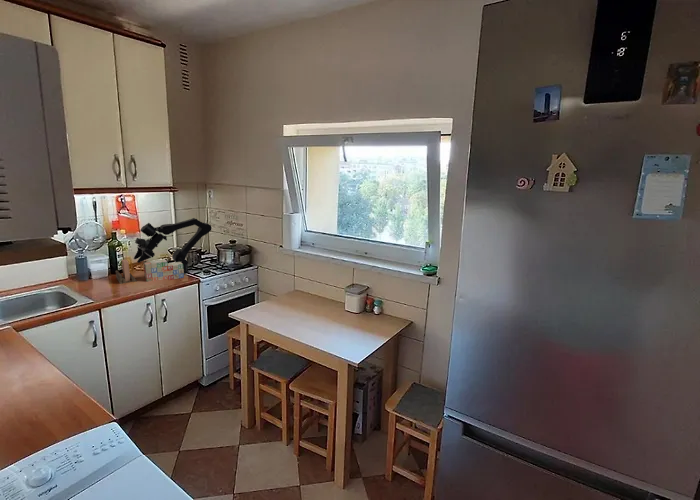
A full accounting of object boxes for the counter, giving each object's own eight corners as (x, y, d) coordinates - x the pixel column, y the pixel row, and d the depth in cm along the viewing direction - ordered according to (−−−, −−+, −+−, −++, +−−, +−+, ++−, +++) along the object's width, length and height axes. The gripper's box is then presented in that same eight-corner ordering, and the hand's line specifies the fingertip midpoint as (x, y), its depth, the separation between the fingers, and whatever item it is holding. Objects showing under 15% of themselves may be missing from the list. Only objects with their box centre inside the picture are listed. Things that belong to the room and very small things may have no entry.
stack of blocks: (181, 275, 243) (180, 257, 240) (184, 277, 238) (183, 259, 235) (144, 280, 230) (143, 261, 227) (146, 283, 225) (145, 263, 222)
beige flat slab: (128, 278, 230) (126, 259, 227) (130, 280, 225) (128, 261, 223) (123, 278, 228) (121, 259, 225) (125, 281, 224) (123, 262, 221)
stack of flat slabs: (133, 277, 234) (132, 268, 233) (137, 282, 226) (136, 273, 224) (116, 279, 229) (115, 270, 227) (120, 285, 220) (119, 275, 218)
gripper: (139, 230, 234) (121, 249, 230) (147, 235, 221) (127, 256, 216) (154, 241, 241) (136, 260, 237) (162, 247, 227) (143, 267, 223)
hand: (135, 260), depth 228 cm, fingers open, 9 cm apart
